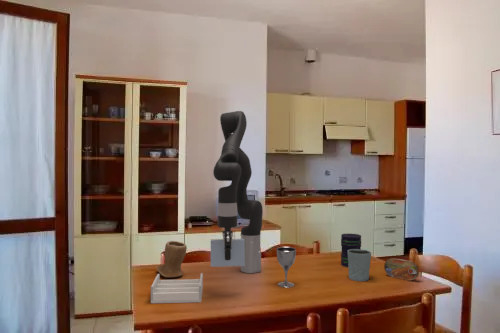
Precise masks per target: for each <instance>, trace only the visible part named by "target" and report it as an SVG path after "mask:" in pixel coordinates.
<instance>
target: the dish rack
mask: <svg viewBox="0 0 500 333" xmlns="http://www.w3.org/2000/svg"><path fill="white" fill-rule="evenodd" d="M160 276H161V274H160V273H157V274H156V276H155V278H154V280H153V282H152V285H150V304H174V303H175V304H177V303H178V304H181V303H182V304H183V303H185V304H186V303H188V304H189V303H202V297H203V287H204V285H203V284H204V280H203V279H204V273H203V272H200V277H199V278H196V279H192V278H191V279H189V278H188V279H187V278H186V279H161V278H160Z"/></svg>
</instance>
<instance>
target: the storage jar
mask: <svg viewBox="0 0 500 333" xmlns="http://www.w3.org/2000/svg"><path fill="white" fill-rule="evenodd" d="M340 237H341V238H340V239H341V240H340V245H341V253H340V262H341V263H340V265H341V266H342V267H345V268H348V264H349V263H348V252H347V251H348V250H350V249H361V248H362V235H361V234H358V233H342V234H341V236H340ZM361 250H362V249H361Z"/></svg>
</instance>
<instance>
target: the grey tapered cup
mask: <svg viewBox="0 0 500 333" xmlns="http://www.w3.org/2000/svg"><path fill="white" fill-rule="evenodd" d="M347 252H348V263H349V264H348V267H347V268H348V279H350V280H351V281H354V282H367V281H369V279H370V269H371V265H370V264H371V258H372V252H371V251H370V250H367V249H350V250H348V251H347Z"/></svg>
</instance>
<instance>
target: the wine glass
mask: <svg viewBox="0 0 500 333" xmlns="http://www.w3.org/2000/svg"><path fill="white" fill-rule="evenodd" d="M296 255H297V249H296V248H295V247H291V246H279V247H276V258H277V262H278V264H279V266H281V268H282V269H283V272H284V281H281V282H278V283H277V286H278V287H281V288H292V287H295V283H293V282H290V281H288V272H289V269H290V268H291V267H292V266H293V265H294V264H295V262H296V258H297V257H296Z"/></svg>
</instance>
